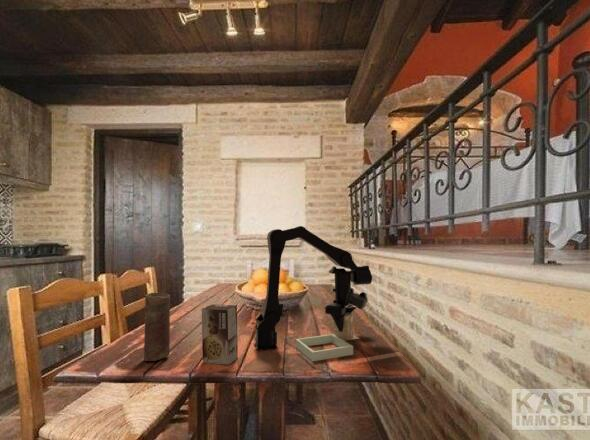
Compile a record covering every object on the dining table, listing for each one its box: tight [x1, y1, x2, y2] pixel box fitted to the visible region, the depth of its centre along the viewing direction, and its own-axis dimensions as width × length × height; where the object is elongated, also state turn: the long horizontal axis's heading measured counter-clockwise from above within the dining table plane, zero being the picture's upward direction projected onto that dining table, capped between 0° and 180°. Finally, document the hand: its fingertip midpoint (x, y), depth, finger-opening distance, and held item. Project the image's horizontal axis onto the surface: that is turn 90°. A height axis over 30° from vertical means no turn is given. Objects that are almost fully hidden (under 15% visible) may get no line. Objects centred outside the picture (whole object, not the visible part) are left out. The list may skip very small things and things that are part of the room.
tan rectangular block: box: [333, 312, 354, 339], centre depth 120 cm, size 5×5×8 cm
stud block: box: [332, 333, 360, 342], centre depth 120 cm, size 8×8×5 cm
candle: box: [143, 292, 171, 362], centre depth 105 cm, size 8×7×20 cm
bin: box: [295, 333, 354, 366], centre depth 106 cm, size 14×14×4 cm
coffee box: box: [201, 304, 239, 365], centre depth 103 cm, size 9×6×16 cm
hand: (343, 329), depth 120 cm, fingers closed on tan rectangular block, 5 cm apart
